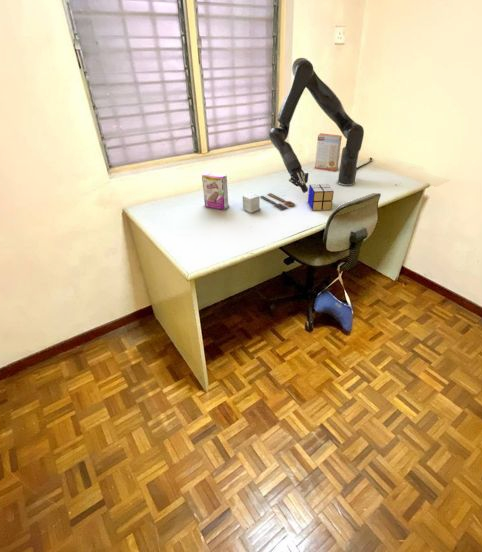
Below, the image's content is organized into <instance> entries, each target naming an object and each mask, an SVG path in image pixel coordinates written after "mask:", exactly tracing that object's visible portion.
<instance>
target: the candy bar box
mask: <svg viewBox="0 0 482 552" xmlns="http://www.w3.org/2000/svg"><path fill="white" fill-rule="evenodd" d="M201 181H202V190H203V191H202V192H203V197H204V198H203V199H204V207H206V208H212V209H216V210H222V211H225V210H227V209H228V208H229V192H228V191H229V190H228V176H227V175H226V174H220V173H214V172H207V171H205V172H204V173H203V174H201Z"/></svg>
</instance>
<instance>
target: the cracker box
mask: <svg viewBox="0 0 482 552" xmlns="http://www.w3.org/2000/svg"><path fill="white" fill-rule="evenodd" d="M342 138H343V135H340V134H329V133H319V134H317V142H316V153H315V162H314V163H315V164H314V169H319V170H324V171H332V172H336V171H337V170H338V168H339V161H340V154H341V153H340V152H341V147H342Z"/></svg>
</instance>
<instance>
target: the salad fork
mask: <svg viewBox="0 0 482 552" xmlns="http://www.w3.org/2000/svg"><path fill="white" fill-rule="evenodd" d="M260 198H261V199H262V200H264V201H266V202H268V203H270V204H272V205H273V207H274V208H277V209H278V210H281V211H284V210H287V209H288V206H286V205H284V204H282V203H277V202H275V201H273V200H271V199H269V198H268V197H266V196H264V195H261V196H260Z"/></svg>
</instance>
